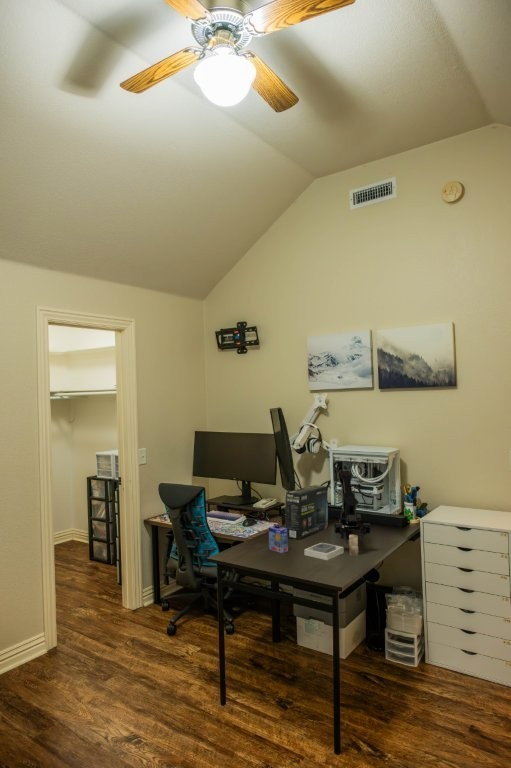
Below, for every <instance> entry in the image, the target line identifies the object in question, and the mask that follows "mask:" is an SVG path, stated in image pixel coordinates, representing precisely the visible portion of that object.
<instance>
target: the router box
mask: <svg viewBox="0 0 511 768" xmlns="http://www.w3.org/2000/svg"><path fill="white" fill-rule="evenodd" d="M284 496H285V528H287V531H288V539H296V540H302V539H305V538H307V537H309V536H312V535H314V534H317V533H319V532H322V531H324V530H326V529H328V527H329V524H328V523H329V521H328V518H329V515H328V513H329V511H328V509H329V507H328V503H329V502H328V486H325V485H316V484H314V485H313V484H312V485H309V486H307V487H302V488H299V489H294V490H291V491H287V492H285V493H284Z"/></svg>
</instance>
